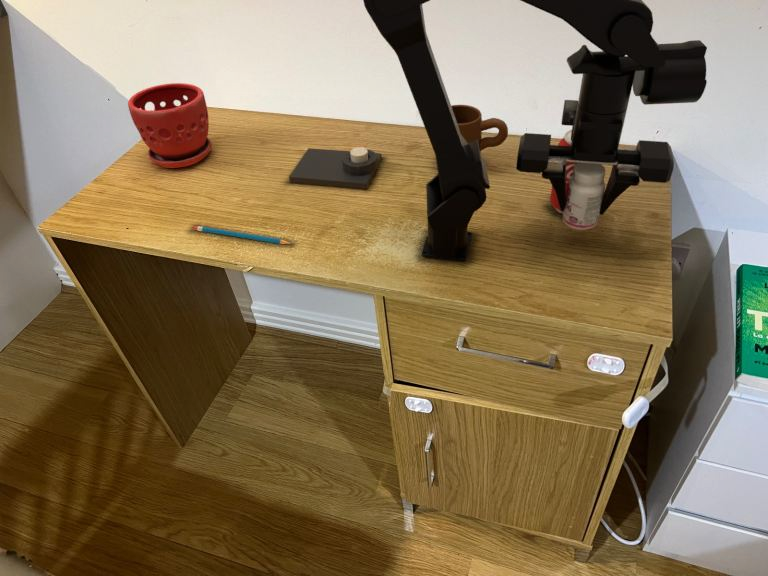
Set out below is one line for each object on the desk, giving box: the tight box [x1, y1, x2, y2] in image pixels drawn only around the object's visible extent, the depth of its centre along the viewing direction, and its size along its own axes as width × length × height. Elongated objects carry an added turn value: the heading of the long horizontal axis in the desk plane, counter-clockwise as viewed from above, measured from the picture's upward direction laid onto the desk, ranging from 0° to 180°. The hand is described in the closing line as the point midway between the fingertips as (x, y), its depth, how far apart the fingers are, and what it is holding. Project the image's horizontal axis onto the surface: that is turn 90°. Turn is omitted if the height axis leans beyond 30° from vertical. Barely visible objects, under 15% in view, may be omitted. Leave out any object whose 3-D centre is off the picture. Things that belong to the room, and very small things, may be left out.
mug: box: [451, 104, 509, 153], centre depth 100 cm, size 12×8×9 cm, turn 72°
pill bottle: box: [562, 163, 606, 231], centre depth 80 cm, size 5×5×8 cm
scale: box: [288, 147, 383, 190], centre depth 104 cm, size 14×10×3 cm
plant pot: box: [127, 82, 212, 169], centre depth 108 cm, size 13×13×12 cm
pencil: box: [193, 225, 292, 245], centre depth 92 cm, size 1×17×1 cm, turn 72°
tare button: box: [349, 146, 369, 163], centre depth 101 cm, size 3×3×2 cm
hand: (581, 211), depth 82 cm, fingers closed on pill bottle, 5 cm apart
